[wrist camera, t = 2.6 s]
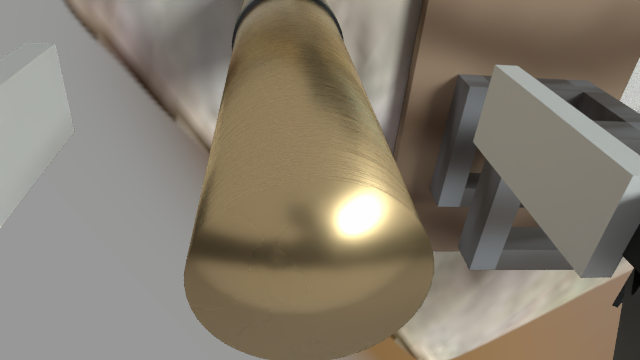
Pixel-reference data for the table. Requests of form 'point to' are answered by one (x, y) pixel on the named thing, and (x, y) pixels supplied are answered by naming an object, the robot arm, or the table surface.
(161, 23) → the table surface
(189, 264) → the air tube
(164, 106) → the table surface
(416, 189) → the collar stand
